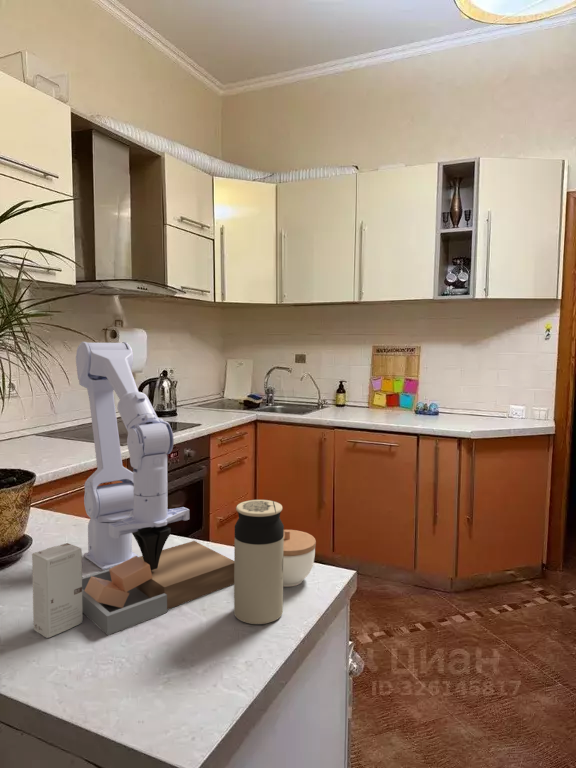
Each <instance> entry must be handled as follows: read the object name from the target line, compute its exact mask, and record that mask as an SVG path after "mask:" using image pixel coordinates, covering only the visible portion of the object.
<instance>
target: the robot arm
mask: <svg viewBox="0 0 576 768" xmlns="http://www.w3.org/2000/svg"><path fill="white" fill-rule="evenodd" d="M133 352H134V351H133V349H132V346H131V344H129V343H128V342H127V341H123V342H87V341H81V342H80V343H79V345H78V346H77V349H76V353H75V354H76V355H75V364H76V366H75V367H76V373H77V379H78V385H79V386H81V387H83V388H85V389H86V390H87V391H86V392H87V397H88V401H89V407H90V408H89V409H90V417H91V418H90V419H91V426H92V435H93V443H94V451H95V459H96V460H95V461H96V467H97V469H96V470H95V471H94V472H93V473H92V474H91V475H90V476H89V477H87V479H86V480H85V482H84V497H83V503H84V509H85V513H86V515H87V516H88V517H89V518H90V519H89V521H88V524H87V548H88V549H87V550H88V552H85V553H83V556H84V557H85V558H86V559H87V560H89V561H90V562H92V564H94V565H95V566H97V567H98V568H99V569H101V570H102V571H104V570H108V569H111V568H113V567H115V566H117V565H119V564H121V563H123V562H125V561H127V560H129V559H131V558H133V557H135V556H137V557H140V555H138V554H137V553H135V552H133V537H134V539H135V540H136V543H137V545H138V547H139V550H140V553H141V556H143V559H144V562H146V563H148V564H149V565H150V569H151V570H154V569H157V568H158V563H159V559H160V555H161V552H162V550H164V546H165V545H166V542H167V540H168V538H169V537H170V535H171V530H172V529H171V527H169V526H168V524H171V523H172V524H173V523H175V522H179V521H188V520H190V509H189V508H187V507H184V506H181V507H175V508H168V505H169V504H168V455H169V454H171V452H172V451H173V448H174V432H173V429H172V427H171V424H170V422H168V421H166V420H164V419H163V418H162V417H161V418H159V417H158V415H157V413H156V411H155V409H154V407H153V404H152V403H151V401H150V399H149V397H148V396H147V394H146V393H144V392H141V391H139V389H138V387H137V383H136V380H135V378H134V375H133V371H132V368H133V364H134V353H133ZM114 392H115V394H116V395H117V398H119V399H118V400H119V401H118V403H117V406H116V404H115V394H114ZM116 407H117V411H118V413H119V415H120V416H119V417H120V418H121V420H122V422H123V425H124V427H125V429H126V432H127V437H126V438H127V439H126V444H127V445H126V446H127V449H128V453H129V463H130V466H131V468H133V469H132V470H133V471H131V470H130V469H128V468H126V467H124V465H123V459H122V451H121V444H120V443H121V442H120V436H119V428H118V420H117V411H116ZM111 482H116V483H111ZM117 482H118V483H117ZM104 483H110V484H104ZM101 484H104V485H101Z"/></svg>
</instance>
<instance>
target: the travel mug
mask: <svg viewBox="0 0 576 768" xmlns="http://www.w3.org/2000/svg"><path fill="white" fill-rule="evenodd" d="M235 509H236V512H237V515H238V519H237V520H236V523H235V524H234V550H233V551H234V559H233V561H234V584H233V585H234V588H233V589H234V590H233V591H234V593H233V594H234V596H233V598H234V599H233V603H234V604H233V606H234V607H233V611H234V612H233V614H234V616H235V617H236V618H237V620H239V621H241V622H244V623H247V624H251V625H265V624H270V623H271V622H275V621H277V620H278V619H280V617H282V615H283V611H284V608H283V607H284V606H283V605H284V603H283V602H284V601H283V600H284V587H283V546H284V530H285V529H284V527H285V525H284V523H283V521H282V520H281V512H282V511H283V505H282V504H281V503H279V502H277V501H274V500H270V499H269V500H268V499H251V500H246V501H242V502H240V503H238V504H237V505H236V507H235Z"/></svg>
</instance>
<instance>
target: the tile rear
mask: <svg viewBox="0 0 576 768" xmlns="http://www.w3.org/2000/svg"><path fill="white" fill-rule="evenodd" d="M109 571H110V575H111V579H112V583H114V584H115V585H116V586H118V587H119V588H120V589H122V590H123V591H124V592H127V591H129V590H131V589H133V588H135V587H137V586H139V585H140V584H142V583H144V582H146V581H148V580H150V579H151V578H152V574H151V569H150V565H149V564H148V563H146V562H144V561H143V560H141V559H140V558H138V557H137V556H135V557H133V558H131V559H129V560H127V561H125V562H123V563H121V564H119V565H117V566H115V567H113V568H109Z"/></svg>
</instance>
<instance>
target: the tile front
mask: <svg viewBox="0 0 576 768" xmlns="http://www.w3.org/2000/svg"><path fill="white" fill-rule="evenodd" d="M84 591H85V592H86V593H87V594H89V595H90V596H91V597H92V598H93V599H95V600H96V601H97V602H99V603H103V604H107V605H112V606H116V607H120V608H123V606H124V604H125V602H126V600H127V598H128V596H129V592H124V591H123V590H122V589H120V588H119V587H118V586H116V585H115V584H114V583H112V582H111V581H107V580H103V579H100V578H96V577H92V576H91V578H90V580H89V582H88V584H87V586H86V588H85V590H84Z"/></svg>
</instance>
